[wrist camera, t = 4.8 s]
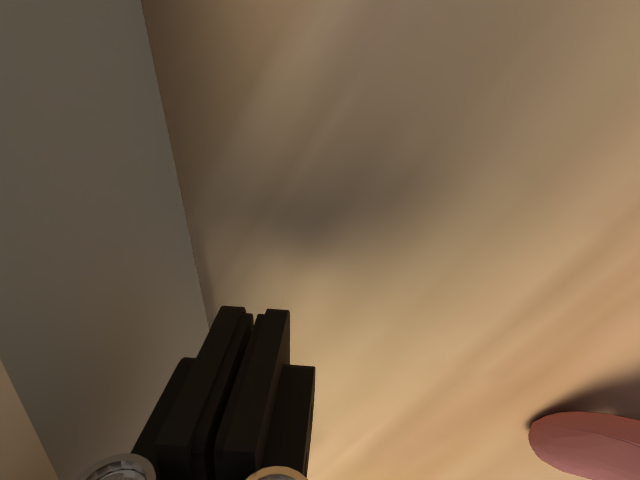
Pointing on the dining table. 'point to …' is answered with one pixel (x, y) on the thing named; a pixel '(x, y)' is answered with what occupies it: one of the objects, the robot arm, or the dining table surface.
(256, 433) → the robot arm
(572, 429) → the video game controller
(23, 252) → the bar
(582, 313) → the dining table surface
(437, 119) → the dining table surface
